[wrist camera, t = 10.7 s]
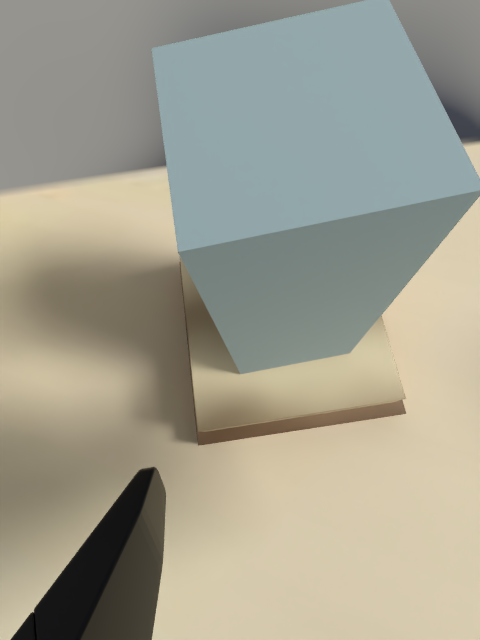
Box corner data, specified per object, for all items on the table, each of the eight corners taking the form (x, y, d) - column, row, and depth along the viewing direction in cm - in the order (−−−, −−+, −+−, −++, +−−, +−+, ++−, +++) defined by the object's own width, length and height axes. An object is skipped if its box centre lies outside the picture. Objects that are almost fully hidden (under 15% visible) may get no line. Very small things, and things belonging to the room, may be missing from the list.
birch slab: (392, 402, 19) (405, 398, 17) (205, 431, 19) (198, 431, 17) (346, 238, 22) (353, 219, 20) (186, 266, 22) (179, 250, 20)
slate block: (349, 353, 17) (485, 189, 6) (240, 374, 18) (178, 252, 6) (322, 256, 19) (386, -5, 8) (223, 276, 20) (151, 48, 8)
